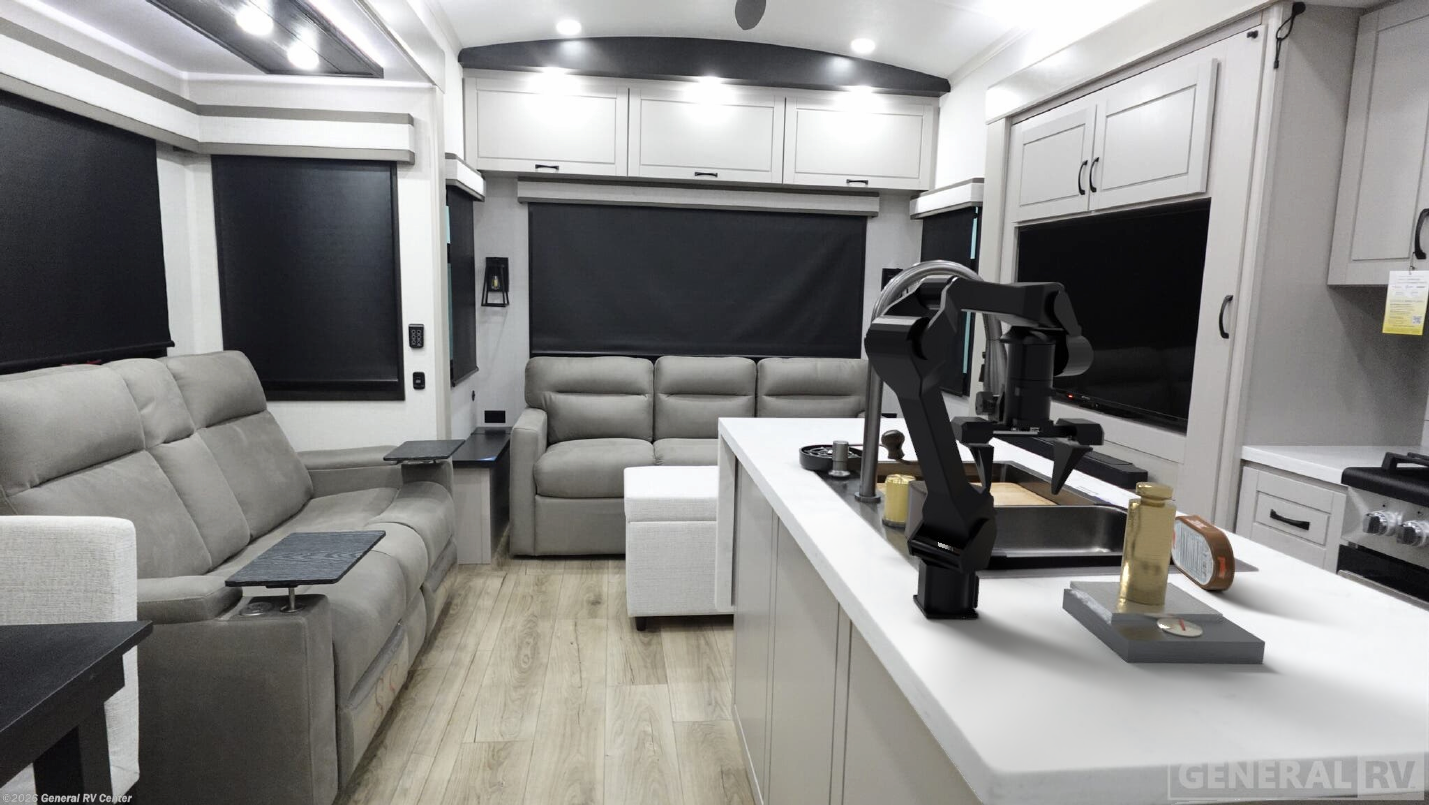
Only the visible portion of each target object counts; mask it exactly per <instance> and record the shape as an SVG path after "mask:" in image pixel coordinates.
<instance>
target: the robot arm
mask: <svg viewBox="0 0 1429 805" xmlns="http://www.w3.org/2000/svg"><path fill="white" fill-rule="evenodd" d="M1065 289H1066V288H1065V286H1064V285H1063V284H1062V283H1060V282H1058V281H1057V282H1053V281H1052V282H1047V281H1045V282H1043V281H1042V282H1037V281H1036V282H1033V281H1031V282H1029V281H1028V282H1025V281H1024V282H1009V283H998V282H991V281H984V280H980V279H979V280H977V279H972V278H965V277H962V276H961V275H958V274H942V275H941V274H931V275H927V276H926V277H923V278H922V279H921V280H920V281H919V282H918V283H917V284H916V285H914V288H913V289H912V290H911V291H909V292H908V293H906V294H904V295H903V296H901V297H900V298H898V299H897V300H895V301H894V302H892V303H891V304H889V305H888V306H886V308H884V310H883V311H882V312H881V313H880V315H879V316H878V317H875V319H874V320H873V321H872V322H871V323H870V325H869V327H868V328H867V331H866V333H865V336H864V337H863V348H864V351H865V352H864V353H865V355H866V357H867V358H868V360H869V362H870V364H871V367H872V369H873V370H874V372H875V374H876V375H877V377H878V378H880V379H881V380H882V381H883V382H884V384H886V385H887V386H888V387H889V388H890V389H891V390H892V391H893V392H894V394H895V395H896V398H897V401H898V404H899V407H900V410H901V413H902V417H903V419H904V422H905V425H906V428H907V432H908V434H909V437H910V440H911V444H912V447H913V450H914V452H915V456H916V459H917V460H918V463H919V469H920V471H921V475H922V477H923V481H925V484H926V487H927V495H926V497H925V500H924V502H923V505H922V507H921V510H922V516H923V518H922V519H921V521H920V522H919V524H918V525H917V527H916V528H915V530H914V531H913V533H912V535H911V536H910V538H909V539H907V541H906V544H907V549H908V554H909V555H910V556H911V557H916V558H919V559H918V560H919V562H918V575H917V576H918V578H917V579H918V580H917V593H916V594H912V599H913V601H914V602H915V604H916V605H917V606H918V608H919V609H920V611H921V612H922V614H923V615H924V617H926V618H928V619H979V613H978V612H977V610H976V609H977V608H978V606H979V594H980V593H979V592H980V591H979V590H980V577H979V576H978V574H977V572H978V571H983V570H986V569H988V566H989V564H990V560H991V557H992V553H993V548H994V545H995V543H996V540H997V534H998V527H997V526H998V525H997V519H996V517H995V516H998V511H997V510H996V509H995V507H994V506H993V503H992V496H993V495H992V492H991V488H992V482H993V469H994V468H993V467H994V458H995V455H994V454H995V446H994V445H991V444H990V441H991V440H993V439H994V438H1027V439H1028V438H1035V439H1037V438H1039V439H1040V438H1041V439H1051V441H1052V445H1053V446H1052V447H1053V451H1054V458H1053V465H1052V474H1051V482H1050V483H1051V484H1050V485H1051V486H1050V490H1051V491H1050V493H1051V494H1052V495H1053V496H1058V495H1059V493H1060V492H1061V490H1062V488H1063V487H1064V486H1065V483H1066V482H1067V480H1068V478H1069V477H1070V476H1071V474H1072V472H1073V471H1074V469H1075V468H1076V467H1077V466H1078V464H1079V462H1080V461H1081V460H1083V458H1084V457H1085V455H1086V454H1087V453H1092V452H1094V446H1095V447H1096V446H1100V447H1101V446H1104V444H1105V430H1104V428H1103V426H1102V424H1101V423H1099V422H1096V421H1092V420H1089V419H1086V418H1078V417H1077V418H1076V417H1075V418H1074V417H1072V418H1071V417H1067V418H1066V417H1059V418H1058V419H1057V420H1056V422H1055V421H1054V419H1051V417H1050V416H1051V404H1052V397H1053V398H1054V397H1055V398H1056V397H1057V388H1054V387H1053V378H1054V377H1065V376H1066V377H1069V376H1077V375H1081V374H1083V373H1086V371H1087V370H1088V369H1089V368H1090V367H1091V366H1092V363H1093V361H1094V357H1095V356H1094V353H1095V352H1094V351H1093V346H1092V345H1091V343H1090V341H1089V340H1088V339H1087V338H1086V337H1084V335H1083V336H1082V326H1080V325H1079V324H1078V321H1077V318H1076V314H1075V312H1074V309H1073V306H1072V303H1071V300H1070V297H1069V294H1068V293H1067V292H1066V291H1065ZM931 310H934V311H937V310H938V311H937V313H936V314H935V315H934V316H933V317H932V318H930V317H927V316H926V315H927V314H928V313H929V312H930V311H931ZM961 312H969V313H976V314H977V313H978V314H987V315H992V316H995V317H996V319H997V320H998V321H1000V322H1002V323H1005V324H1007V325H1009V326H1010V328H1009V329H1008V330H1007V332H1005V333H1003V334H1002V335H1001V337H1000V338H999V340H998V342H999V343H1000V344H1003V345H1004V344H1005V345H1007V360H1006V374H1005V383H1001V387H1000V394H999V395H994V393H993V392H992V391H991V390H990V391H982V390H981V391H980V390H979V391H977V392H976V393H975V400H974V401H975V402H974V411H975V414H976V416H956V415H955V416H953V418H952V419H951V418H950V415H949V413H948V409H947V405H946V403H945V399H944V395H943V392H942V390H941V386H940V379H941V376H942V374H943V371H944V368H945V365H946V364H947V357H946V356H947V355H946V351H945V350H946V346H947V345H948V344H949V343H950V342H951V341H952V339H953V338H954V336H955V335H956V334H957V332H958V319H959V318H958V316H959V314H960V313H961ZM981 416H987V419H986V418H984V417H981ZM957 442H958V443H959V444H960V445H962V446H964V447H966V448H967V449H968V450H969V452H970V454H971V456H972V459H973V462H974V464H975V467H976V470H977V474H978V477H979V480H980V484H981V485H979V484H974V483H972V482H970V481H969V479H968V476H967V473H966V469H965V466H964V462H963V459H962V457H961V456H962V455H961V453H960V450H959V447H958V443H957ZM1092 446H1093V447H1092ZM969 482H970V483H969ZM971 483H972V484H971ZM991 495H992V496H991ZM938 542H939V543H942V544H945V545H948V546H951V547H954V548H957V549H960V550H963V551H962V553H961V554H960V553H957V552H954V551H951V550H948V549H945V548H942V547H939V546H938Z"/></svg>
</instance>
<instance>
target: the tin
mask: <svg viewBox="0 0 1429 805" xmlns="http://www.w3.org/2000/svg"><path fill="white" fill-rule="evenodd" d="M1231 544H1232V543H1231V542H1230V540H1229V538H1228V536H1227V534H1225V532H1224V531H1223V530H1221V529H1219V528H1218V527H1216V526H1215V525H1213V524H1211V523H1210V522H1208V521H1207V520H1206V519H1204V518H1203V517H1201V516H1199V515H1198V514H1193V515H1178V516H1177V515H1176V517H1175V525H1174V533H1173V541H1172V549H1171V559H1172V562H1173V564H1174V565H1175V567H1176V568H1177V569H1178V571H1180V572H1181V573H1183V574H1184V575H1185V576H1186V577H1187V578H1189V579H1190V580H1191V581H1192V582H1193V583H1195V584H1196V585H1197V586H1198V587H1199V588H1201V589H1203V590H1207V591H1223V592H1224V591H1227V590H1229V589H1230V588H1231V587H1232V585H1233V582H1234V579H1235V574H1236V573H1235V572H1236V562H1235V555H1234V550H1233V547H1232V545H1231Z"/></svg>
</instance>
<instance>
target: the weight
mask: <svg viewBox="0 0 1429 805" xmlns="http://www.w3.org/2000/svg"><path fill="white" fill-rule="evenodd" d="M1135 485H1136V486H1135V495H1137V496H1139V497H1140V498H1139V497H1138V498H1129V499H1128V507H1127V514H1126V523H1125V533H1124V540H1123V541H1124V542H1123V549H1122V558H1121V565H1120V574H1119V575H1120V576H1119V581H1118V582H1119V591H1118V593H1119V594H1120V595H1121V596H1122V597H1124V598H1126V599H1128V600H1131V601H1135V602H1138V603H1143V604H1152V605H1158V604H1163V603H1164V602H1165V597H1166V589H1167V582H1168V580H1169V572H1170V563H1171V558H1172V556H1171V549H1172V541H1173V533H1174V525H1175V517H1177V508H1178V507H1177V506H1176V505H1175V504H1172V503H1170V502H1166V501H1167V500H1168V501H1169V500H1172V499H1173V492H1174V491H1173V490H1174V488H1173V487H1172V486H1170V485H1167V484H1163V483H1157V482H1151V481H1150V482H1149V481H1140V482H1137V483H1136V484H1135Z"/></svg>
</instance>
